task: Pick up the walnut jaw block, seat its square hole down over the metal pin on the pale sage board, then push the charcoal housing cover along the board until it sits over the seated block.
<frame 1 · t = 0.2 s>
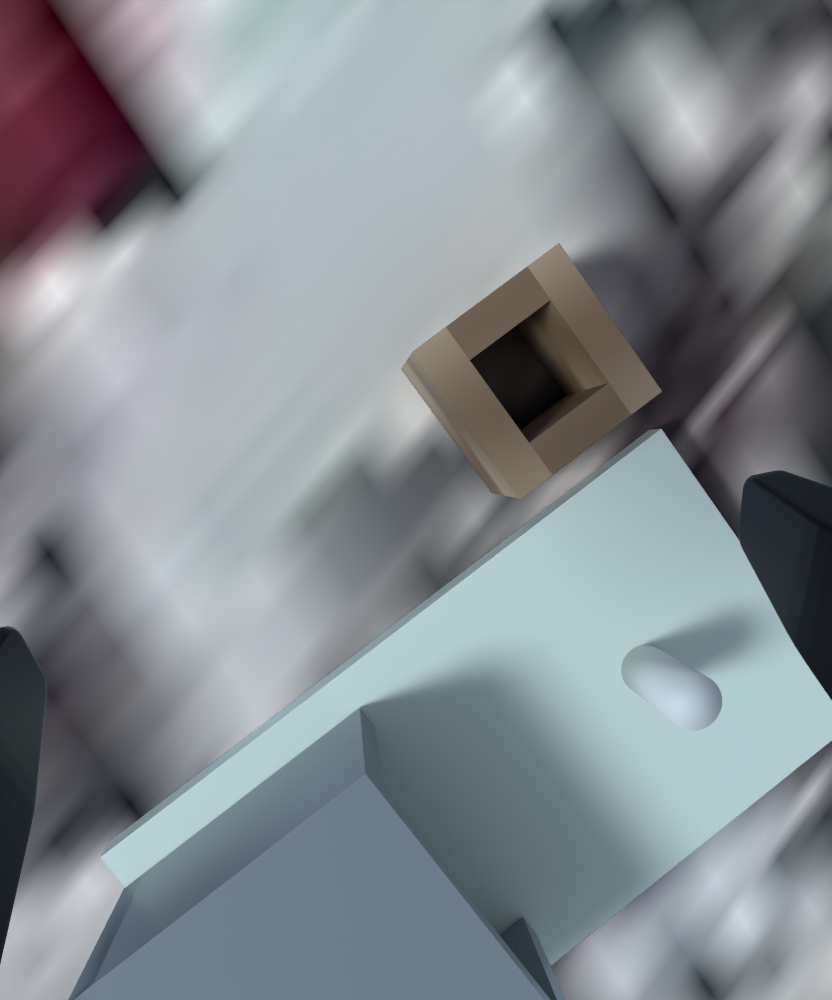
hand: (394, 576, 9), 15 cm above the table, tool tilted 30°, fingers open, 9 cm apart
housing cover: (336, 965, 22), point 4 cm above the table, slide at 0.0 cm
jaw block: (507, 386, 25), on the table
board: (492, 770, 26), on the table
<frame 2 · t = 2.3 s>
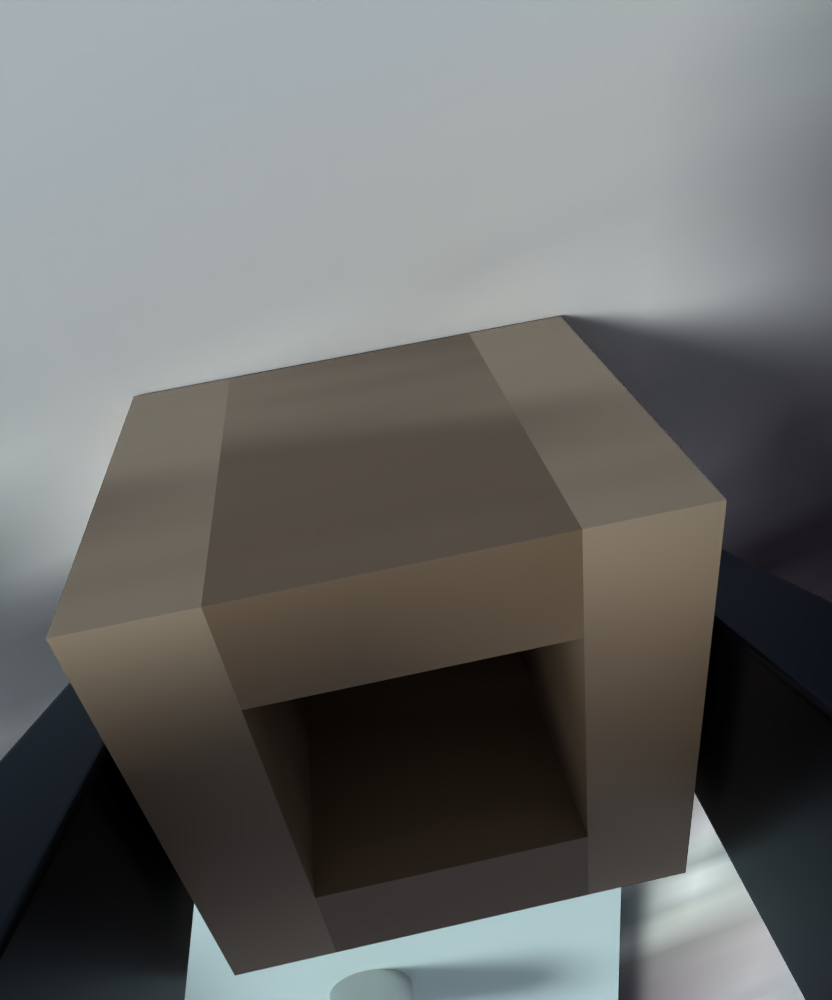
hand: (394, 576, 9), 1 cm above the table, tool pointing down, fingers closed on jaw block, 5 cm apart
jaw block: (384, 528, 10), on the table, touching gripper
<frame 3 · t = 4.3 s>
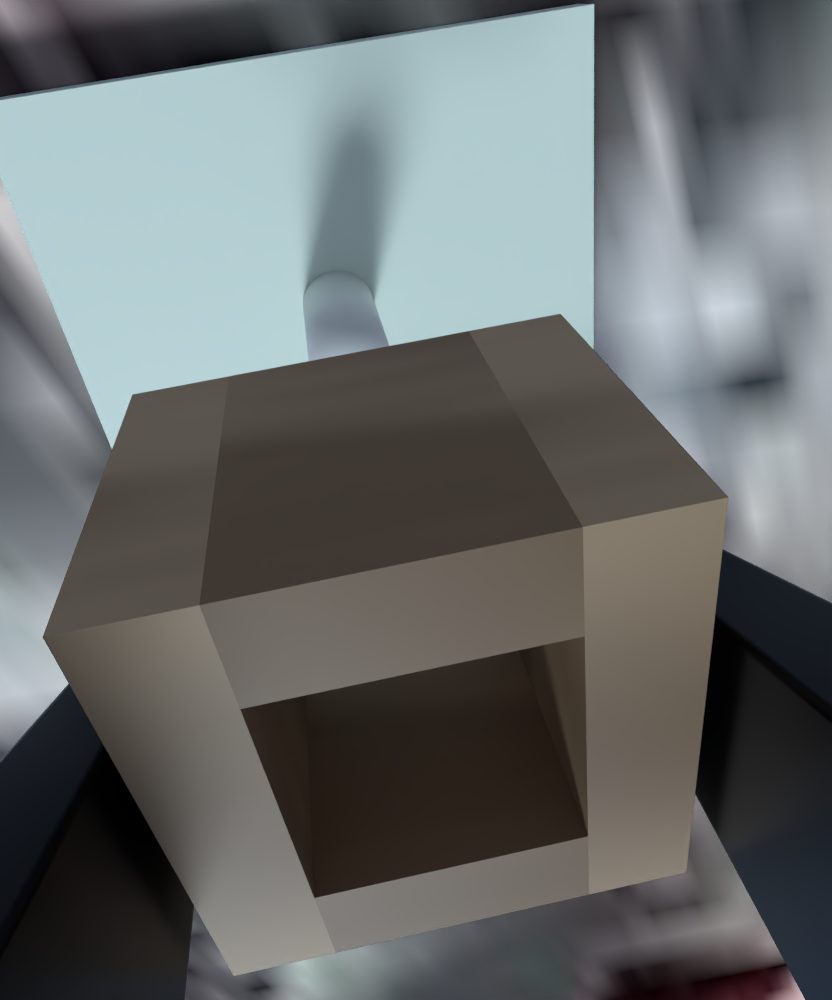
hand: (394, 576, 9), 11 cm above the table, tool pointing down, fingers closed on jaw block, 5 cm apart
jaw block: (383, 527, 10), point 10 cm above the table, touching gripper
board: (375, 498, 22), on the table
when the fingers open (3 cm above the table, at t = 6.0 s): jaw block drops 1 cm, resting on board.
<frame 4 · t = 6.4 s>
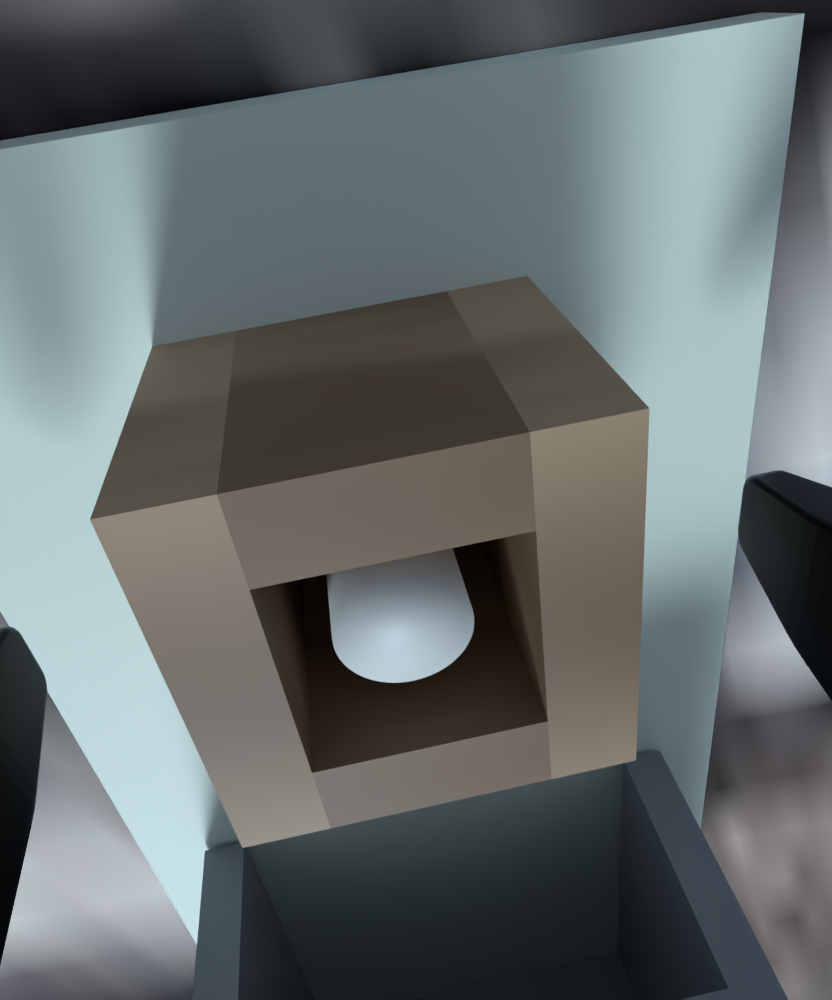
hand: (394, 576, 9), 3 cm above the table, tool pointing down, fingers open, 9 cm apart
jaw block: (374, 471, 11), point 1 cm above the table, touching board
board: (415, 694, 16), on the table
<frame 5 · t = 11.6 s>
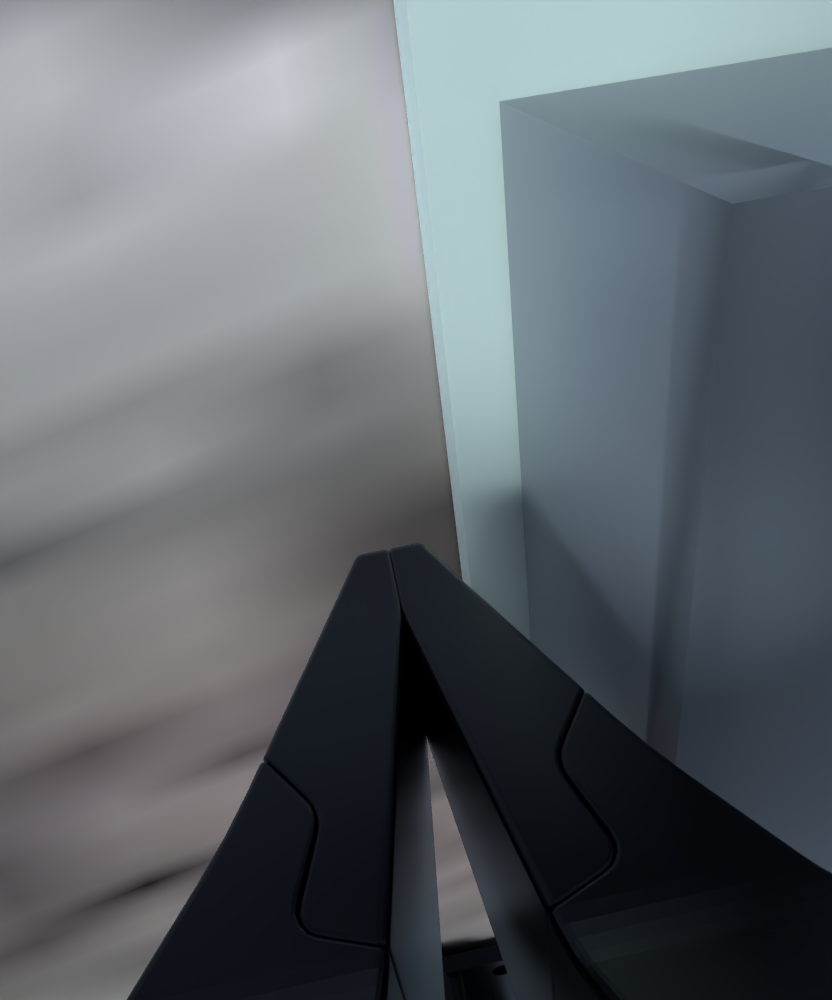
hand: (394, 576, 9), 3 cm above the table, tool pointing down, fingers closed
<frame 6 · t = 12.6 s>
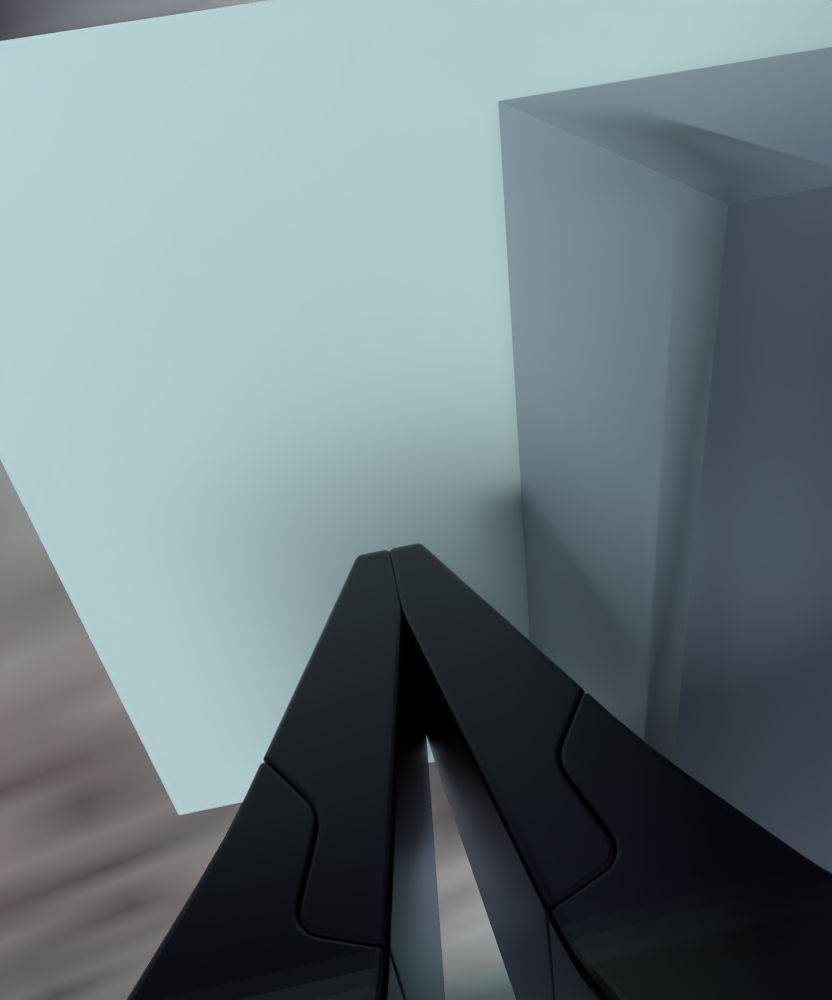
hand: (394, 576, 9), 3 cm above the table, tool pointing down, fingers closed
board: (768, 388, 12), on the table
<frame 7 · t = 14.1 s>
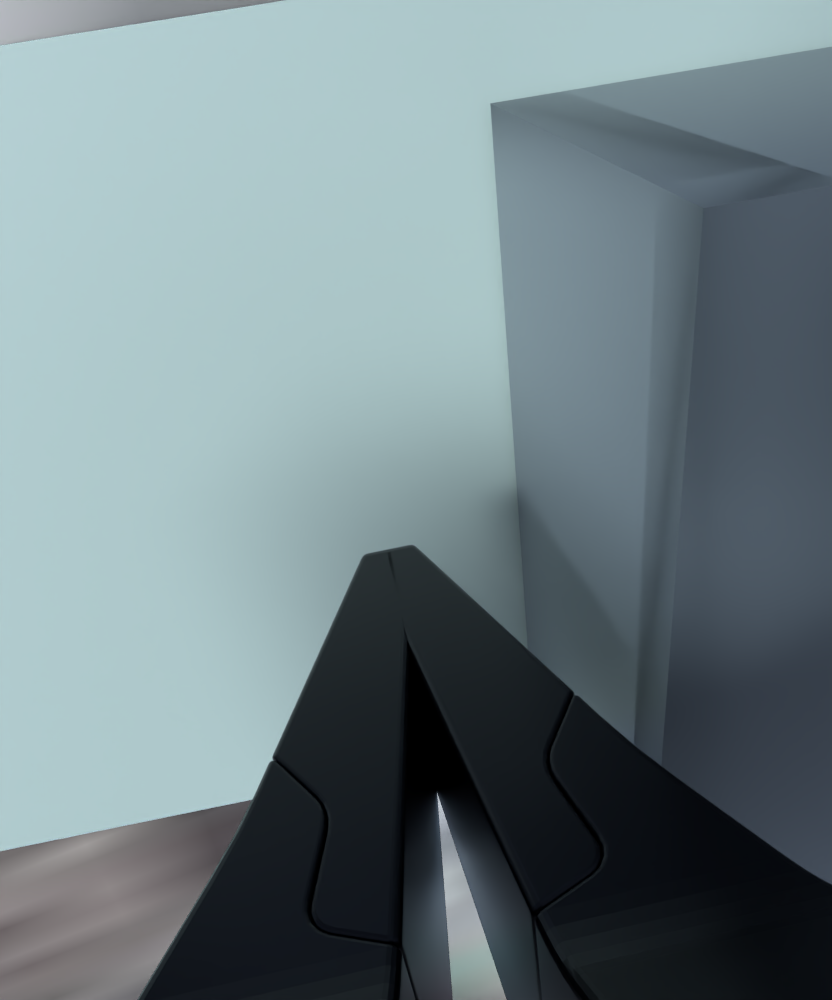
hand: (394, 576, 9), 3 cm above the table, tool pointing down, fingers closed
board: (430, 452, 12), on the table
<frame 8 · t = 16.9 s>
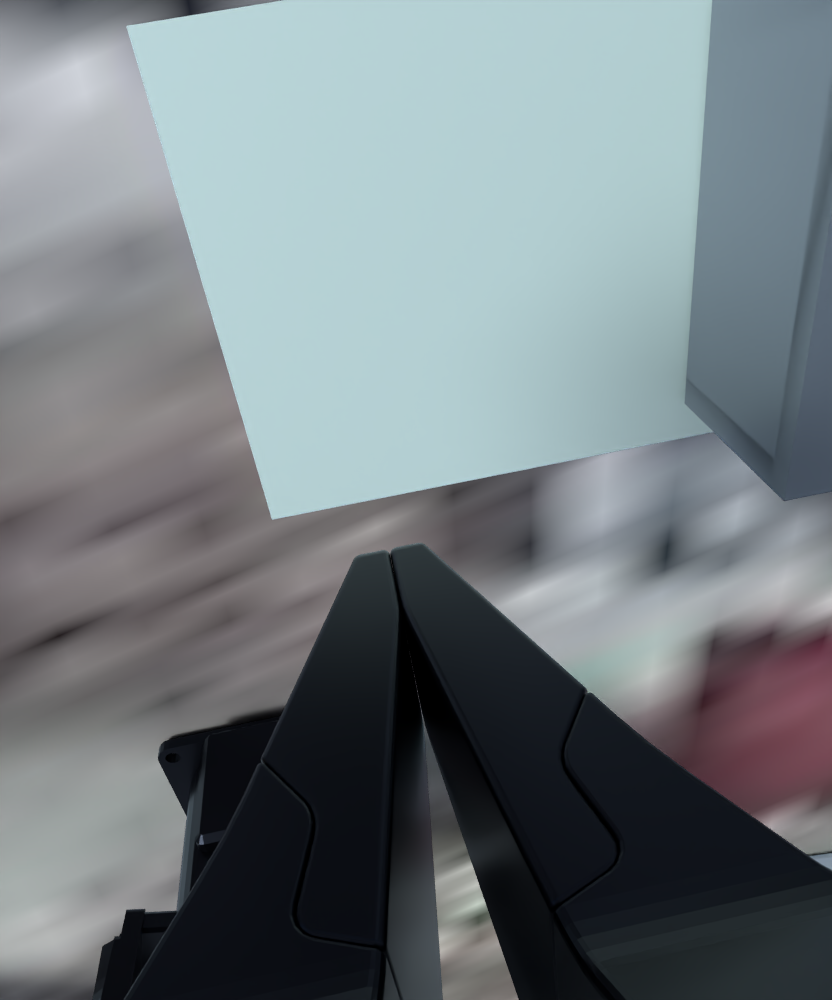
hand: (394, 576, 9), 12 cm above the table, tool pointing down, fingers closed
board: (638, 226, 20), on the table
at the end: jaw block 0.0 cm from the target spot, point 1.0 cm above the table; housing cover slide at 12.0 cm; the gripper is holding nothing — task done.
